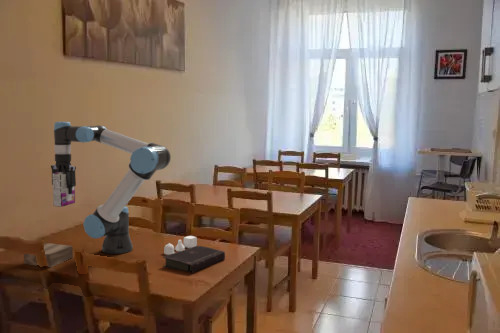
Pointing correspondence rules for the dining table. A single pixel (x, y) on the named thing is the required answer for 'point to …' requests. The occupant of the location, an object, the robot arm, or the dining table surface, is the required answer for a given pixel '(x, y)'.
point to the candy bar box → (61, 190)
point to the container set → (181, 245)
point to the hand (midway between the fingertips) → (64, 199)
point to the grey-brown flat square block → (52, 254)
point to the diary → (194, 259)
